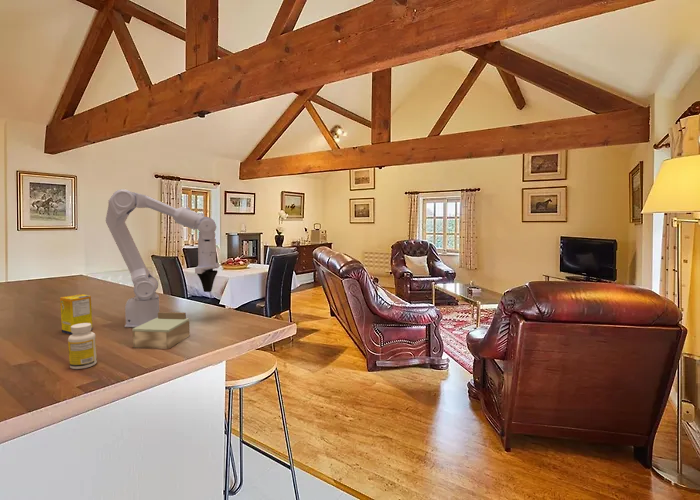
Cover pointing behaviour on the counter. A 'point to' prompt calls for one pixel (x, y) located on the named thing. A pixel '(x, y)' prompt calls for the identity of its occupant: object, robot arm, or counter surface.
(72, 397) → the counter surface
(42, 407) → the counter surface
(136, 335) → the box
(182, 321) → the lid
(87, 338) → the supplement bottle
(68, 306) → the supplement box
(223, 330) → the counter surface
